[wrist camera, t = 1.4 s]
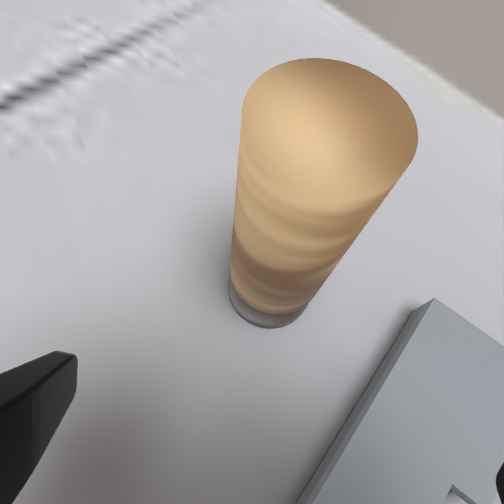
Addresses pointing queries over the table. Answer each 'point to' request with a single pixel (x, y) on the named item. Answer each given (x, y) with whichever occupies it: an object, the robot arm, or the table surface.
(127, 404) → the table surface
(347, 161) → the ribbed peg
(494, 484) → the keyhole plate
